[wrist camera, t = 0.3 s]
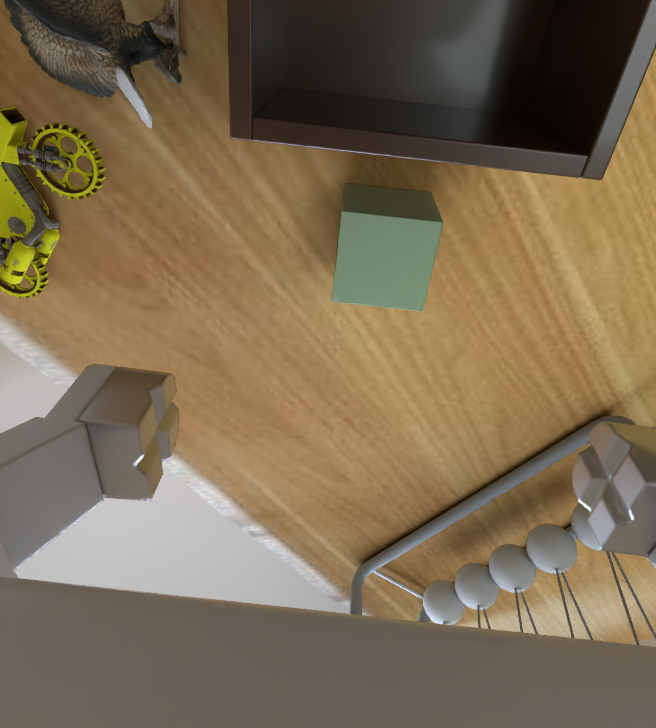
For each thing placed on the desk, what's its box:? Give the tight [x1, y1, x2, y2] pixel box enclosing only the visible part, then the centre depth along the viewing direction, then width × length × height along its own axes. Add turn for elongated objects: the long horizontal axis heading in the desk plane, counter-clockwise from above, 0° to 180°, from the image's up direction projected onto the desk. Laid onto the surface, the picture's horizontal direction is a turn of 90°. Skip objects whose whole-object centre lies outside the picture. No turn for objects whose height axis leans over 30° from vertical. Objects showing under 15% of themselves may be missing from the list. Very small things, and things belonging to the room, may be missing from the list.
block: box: [332, 183, 443, 311], centre depth 27 cm, size 5×5×5 cm
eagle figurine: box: [4, 0, 187, 128], centre depth 22 cm, size 8×7×9 cm
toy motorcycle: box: [0, 106, 106, 299], centre depth 28 cm, size 12×4×7 cm
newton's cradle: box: [350, 415, 656, 645], centre depth 37 cm, size 30×10×18 cm, turn 140°
